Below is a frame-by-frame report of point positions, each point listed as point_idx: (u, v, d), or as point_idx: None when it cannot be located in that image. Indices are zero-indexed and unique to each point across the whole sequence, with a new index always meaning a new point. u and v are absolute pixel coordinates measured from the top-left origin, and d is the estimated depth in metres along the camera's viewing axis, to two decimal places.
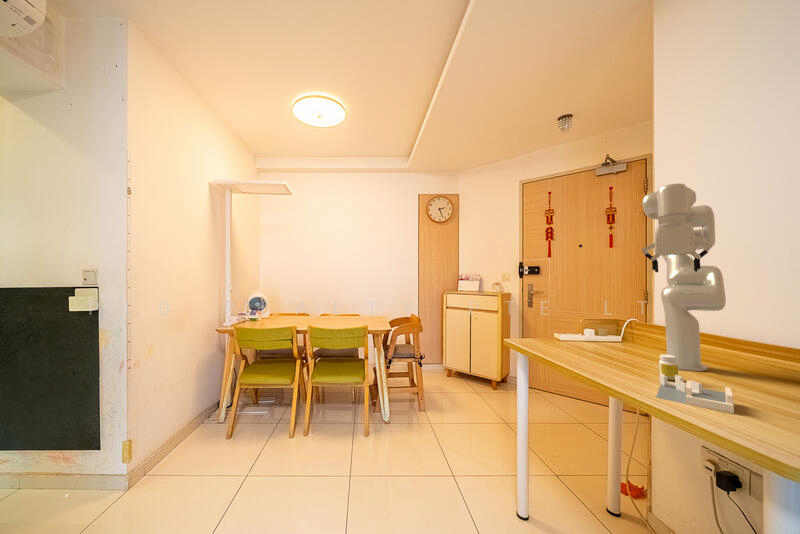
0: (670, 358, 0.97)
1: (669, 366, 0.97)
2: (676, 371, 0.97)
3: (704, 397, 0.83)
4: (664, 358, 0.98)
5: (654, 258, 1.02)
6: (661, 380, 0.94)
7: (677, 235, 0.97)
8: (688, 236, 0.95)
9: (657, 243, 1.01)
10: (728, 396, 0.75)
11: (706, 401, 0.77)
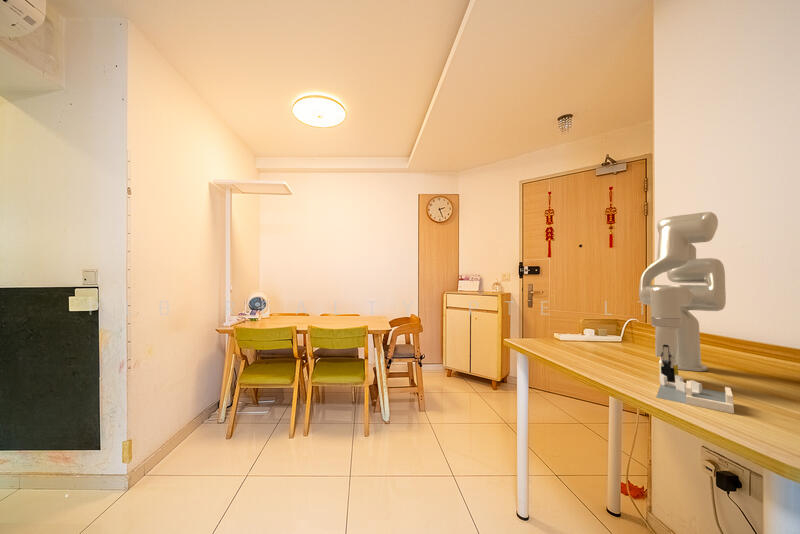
0: None
1: None
2: (676, 371, 0.97)
3: (704, 397, 0.83)
4: None
5: (672, 365, 0.96)
6: (661, 380, 0.94)
7: None
8: None
9: (675, 347, 0.95)
10: (728, 396, 0.75)
11: (706, 401, 0.77)
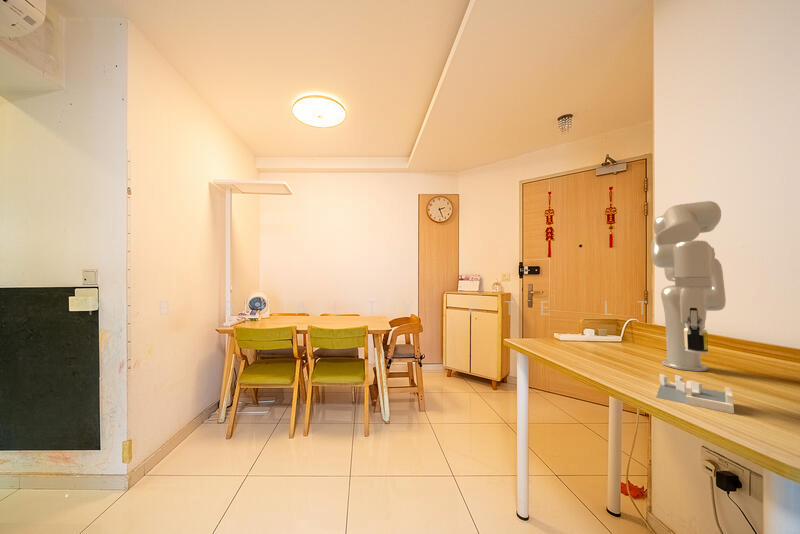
0: None
1: None
2: (705, 339, 0.82)
3: (704, 397, 0.83)
4: None
5: (701, 332, 0.81)
6: (661, 380, 0.94)
7: None
8: None
9: (704, 310, 0.80)
10: (728, 396, 0.75)
11: (706, 401, 0.77)
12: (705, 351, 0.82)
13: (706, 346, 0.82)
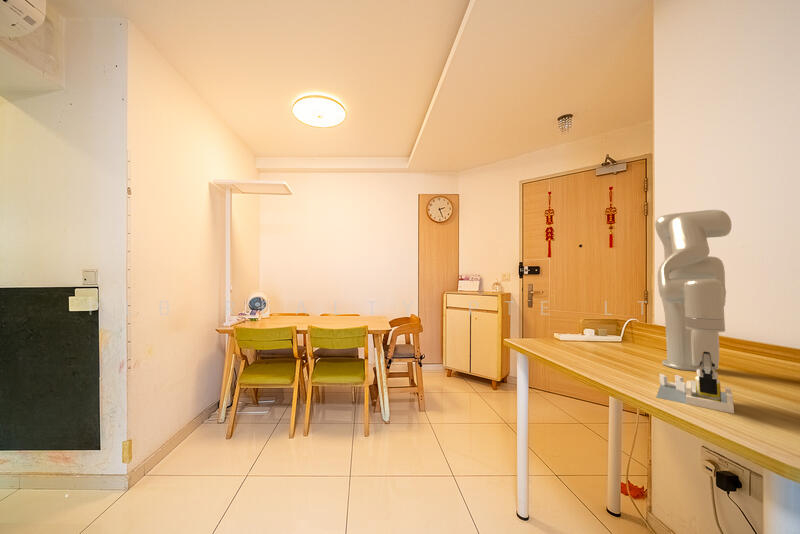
0: None
1: None
2: (718, 390, 0.78)
3: None
4: None
5: (714, 376, 0.76)
6: (661, 380, 0.94)
7: None
8: None
9: (718, 355, 0.76)
10: (728, 396, 0.75)
11: (706, 401, 0.77)
12: None
13: (719, 398, 0.78)
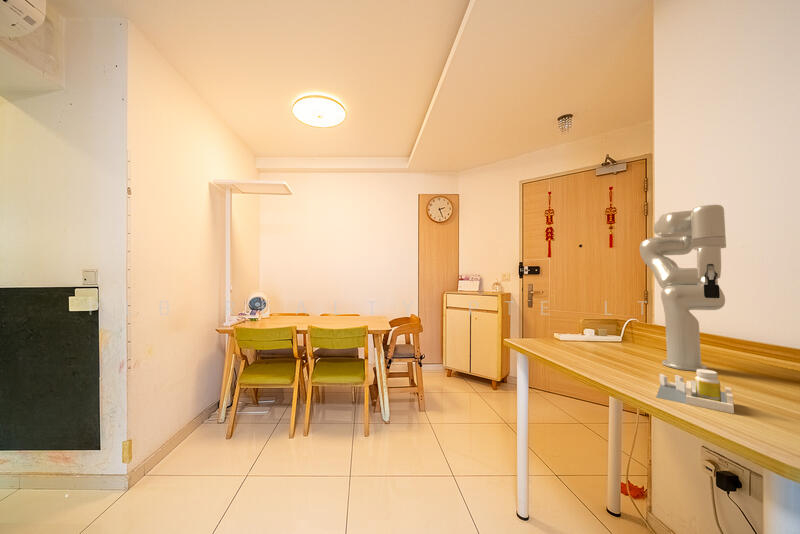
0: (711, 374, 0.79)
1: (709, 384, 0.79)
2: (718, 390, 0.78)
3: None
4: (703, 374, 0.80)
5: None
6: (661, 380, 0.94)
7: None
8: None
9: (720, 266, 0.90)
10: (728, 396, 0.75)
11: (706, 401, 0.77)
12: None
13: (719, 398, 0.78)
